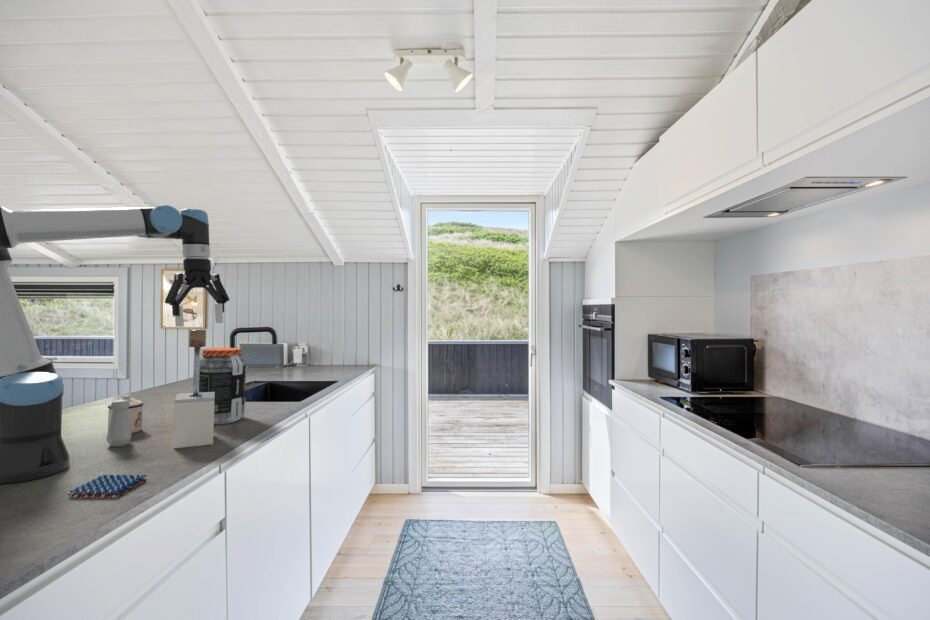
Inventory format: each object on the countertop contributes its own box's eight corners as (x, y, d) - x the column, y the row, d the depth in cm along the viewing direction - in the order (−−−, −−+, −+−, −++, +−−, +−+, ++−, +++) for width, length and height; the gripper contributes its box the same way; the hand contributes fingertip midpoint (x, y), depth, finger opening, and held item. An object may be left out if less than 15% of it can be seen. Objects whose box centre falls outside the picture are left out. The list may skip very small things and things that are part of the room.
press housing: (173, 448, 127) (174, 400, 127) (176, 439, 136) (177, 393, 136) (213, 444, 132) (214, 397, 132) (213, 435, 140) (214, 391, 140)
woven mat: (101, 481, 103) (101, 473, 103) (148, 482, 104) (148, 473, 104) (64, 501, 93) (64, 491, 93) (116, 501, 94) (117, 491, 94)
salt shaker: (102, 445, 127) (103, 400, 127) (125, 440, 132) (126, 397, 132) (112, 449, 125) (113, 403, 125) (135, 443, 130) (136, 399, 130)
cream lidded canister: (142, 432, 141) (143, 396, 141) (105, 437, 135) (107, 399, 135) (142, 424, 150) (143, 390, 150) (108, 427, 145) (109, 392, 145)
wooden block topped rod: (180, 412, 129) (183, 330, 129) (182, 407, 135) (184, 329, 135) (208, 410, 132) (211, 330, 132) (209, 405, 139) (211, 329, 139)
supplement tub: (253, 419, 161) (255, 349, 161) (209, 428, 148) (211, 351, 148) (229, 412, 170) (231, 346, 170) (185, 420, 156) (187, 348, 156)
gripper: (165, 255, 128) (169, 328, 129) (238, 260, 151) (241, 321, 152) (148, 257, 131) (152, 327, 132) (223, 261, 154) (226, 321, 155)
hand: (200, 324), depth 142 cm, fingers open, 13 cm apart
